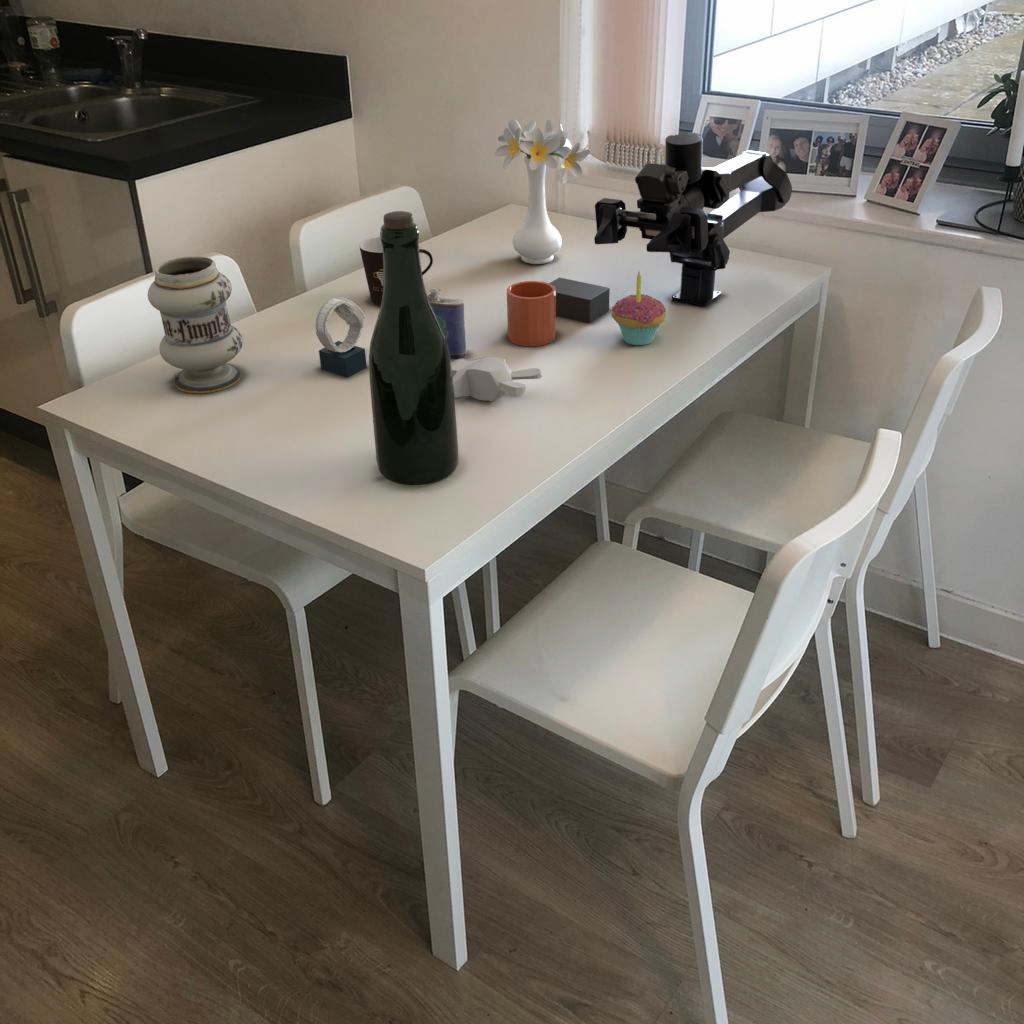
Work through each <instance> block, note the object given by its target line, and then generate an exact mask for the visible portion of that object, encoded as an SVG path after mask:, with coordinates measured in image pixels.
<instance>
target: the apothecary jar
mask: <svg viewBox="0 0 1024 1024" xmlns="http://www.w3.org/2000/svg"><path fill="white" fill-rule="evenodd" d="M232 291H233V287H232V283H231V281H230V279H229V278H228V277H227V276H226V275H225V274H223V273H222V272H220V271H219V270H218V268H217V265H216V262H215V260H214V259H213V258H211V257H208V256H203V255H201V256H200V255H199V256H198V255H187V256H179V257H174V258H170V259H167V260H164V261H163V262H161V263H159V264H158V265H157V266H155V268H154V280H153V282H152V283H151V284H150V285H149V287H148V290H147V300H148V302H149V304H150V305H151V306H152V307H153V308H154V309H156V310H157V311H158V312H159V314H160V317H161V321H162V322H161V323H162V327H163V333H164V336H163V337H162V339H161V340H160V342H159V346H158V350H159V354H160V356H161V358H162V359H163V360H164V361H165V363H167V364H168V365H170V366H172V367H173V368H176V369H179V370H181V371H180V372H179V373H177V374H176V376H175V377H174V382H175V384H174V385H175V388H176V389H177V390H179V391H181V392H185V393H189V394H196V395H197V394H198V395H199V394H200V395H201V394H210V393H211V394H212V393H216V392H219V391H223V390H226V389H228V388H230V387H232V386H234V385H236V384H237V382H239V381H240V380H241V377H242V373H241V371H240V368H238V367H236V366H235V365H232V364H230V363H229V362H231V361H232V360H233V359H234V358H236V356H238V354H239V353H240V352H241V350H242V348H243V345H244V343H243V342H244V341H243V340H244V339H243V336H242V334H241V332H240V331H239V330H238V328H236V327H235V326H234V325H233V324H232V323H231V319H230V314H229V311H228V306H227V301H228V300H229V298H230V297H231V295H232Z"/></svg>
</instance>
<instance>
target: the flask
mask: <svg viewBox="0 0 1024 1024" xmlns="http://www.w3.org/2000/svg"><path fill="white" fill-rule="evenodd" d="M441 291H442V290H441V288H440V287H439V286H436V287H435V288H434V287H432V288H430V289H428V292H429V294H427V296H428V299H429V302H430V304H431V306H432V309H433V311H434V313H435V315H436V317H437V319H438V321H439V323H440V326H441V328H442V330H443V332H444V334H445V337H446V340H447V344H448V348H449V351H450V359H464V357H466V355H467V343H466V342H467V341H466V327H465V324H466V323H465V302H464V301H463V300H462V299H458V298H447V297H445V298H444V297H440V292H441Z"/></svg>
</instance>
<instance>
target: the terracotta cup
mask: <svg viewBox="0 0 1024 1024" xmlns="http://www.w3.org/2000/svg"><path fill="white" fill-rule="evenodd" d="M549 283H550V282H545V281H540V280H539V281H538V280H525V281H519V282H516V283H513V284H511V285H509V286H508V287H506V311H507V315H506V316H507V317H506V318H507V338H508V340H509V342H511V343H512V344H514V345H517V346H520V347H540V346H541V347H542V346H545V345H548V344H550V343H552V342H554V341H555V339H556V338H557V315H556V289H555V287H554V286H553V285H551V284H549Z"/></svg>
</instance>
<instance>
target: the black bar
mask: <svg viewBox="0 0 1024 1024" xmlns="http://www.w3.org/2000/svg"><path fill="white" fill-rule="evenodd" d="M548 283H549V284H551V285H553V286H554V287H555V289H556V316H558V317H562V318H567V319H571V320H576V321H580V322H585V323H588V324H590V323H592V322H594V321H595V320H596V319H598V318H600V317H602V316H603V315H604V314H606V313H608V312H609V311H610V293H611V292H610V290H611V289H610V287H608V286H607V287H606V286H602V285H596V284H592V283H589V282H583V281H578V280H575V279H574V280H573V279H570V278H565V277H559V276H558V277H557V278H556V279H554V280H552V281H550V282H548Z"/></svg>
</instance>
